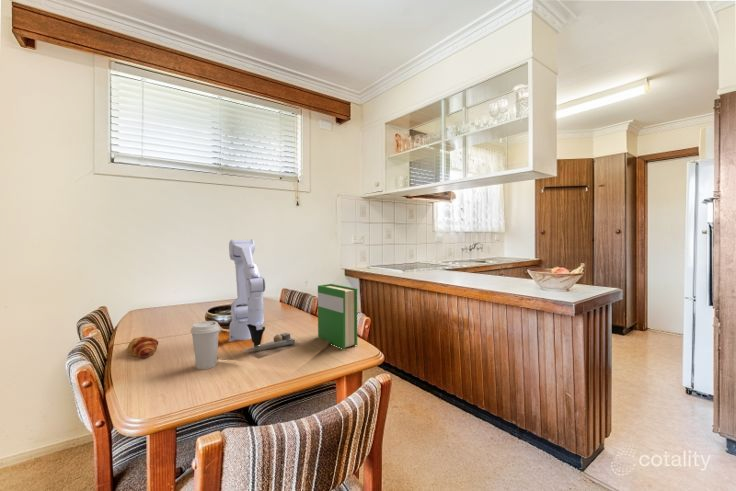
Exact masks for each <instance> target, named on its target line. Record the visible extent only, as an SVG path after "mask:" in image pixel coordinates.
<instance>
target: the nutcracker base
mask: <svg viewBox="0 0 736 491" xmlns="http://www.w3.org/2000/svg"><path fill="white" fill-rule="evenodd" d="M279 335H281V336H282V338H283V339H282V341H283V340H287V339H288V338H291V333H288V332H283V333H280V334H279ZM272 342H274V340H273V341H270V342H266V343H265V344H267V343H272ZM297 346H301V343H300V342H297V341H295V344H291V345H286V346H280V347H275V348H270V349H265V350H260V351H254V349H253V347H250V348H247V349H243V350H241V352H242V353H245V354H247V355H249V356H251V357H254V358H256V359H262V358H264V357H267V356H271V355H274V354H277V353H280V352H282V351H285V350H286V351H287V350H288V349H291V348H294V347H297Z"/></svg>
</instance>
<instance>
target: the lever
mask: <svg viewBox="0 0 736 491" xmlns="http://www.w3.org/2000/svg"><path fill="white" fill-rule="evenodd" d="M271 342H272V343H269V342H266V343H267V344H266V343H263V344H260V345H257V346H255V345H254V344H253V347H252V348H253V349H254V351H260V350H265V349H270V348H275V347H280V346H286V345H291V344H295V342H296V341H295V339H294V338H291V337H290V338H288V339H287V340H283V341H278V342H273V341H271Z"/></svg>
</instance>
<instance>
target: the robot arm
mask: <svg viewBox="0 0 736 491" xmlns="http://www.w3.org/2000/svg"><path fill="white" fill-rule="evenodd" d="M255 243H256V242H255V240H253V239H230V240H229V243H228V254H229V258H230V260H231V261H234V267H235V278H236V279H235V281H236V292H237V293H236V294H237V298H236V299H235V300H234V301H232V302H231V303H230V304H231V305H230V306H231V307H230V316H231V321H230V323H229V326H228V327H229V328H228V330H229V333H228V334H229V339H228V340H227V341H228V342H234V341H246V340H251V341H252V343H253V346H254V345H255V346H257V345H262V344H261V343H262V339H263V334H264V332H265V330H266V327H265V326H263V324H264V322H265V319H264V316H265V315H264V292H265V290H266V281H265V277H263V275H261V273H260V270H259V268H258V265H257V264H256V263H254V258H253V257H254V256H253V255H254V253H255V250H256V244H255Z"/></svg>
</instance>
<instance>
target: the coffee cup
mask: <svg viewBox="0 0 736 491" xmlns="http://www.w3.org/2000/svg"><path fill="white" fill-rule="evenodd" d="M220 330H221V325H220V324H219V322H218V321H215V320H205V321H200V322H196V323H193V325H192V327H191V328H190V331H189V332H190V334H191V336H192V344H193V345H192V346H193V351H194V361H195V368H196V370H210V369H213V368H214V367H216V366H217V363H218V362H217V361H218V350H219V349H218V348H219V337H220V336H219V333H220Z"/></svg>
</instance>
